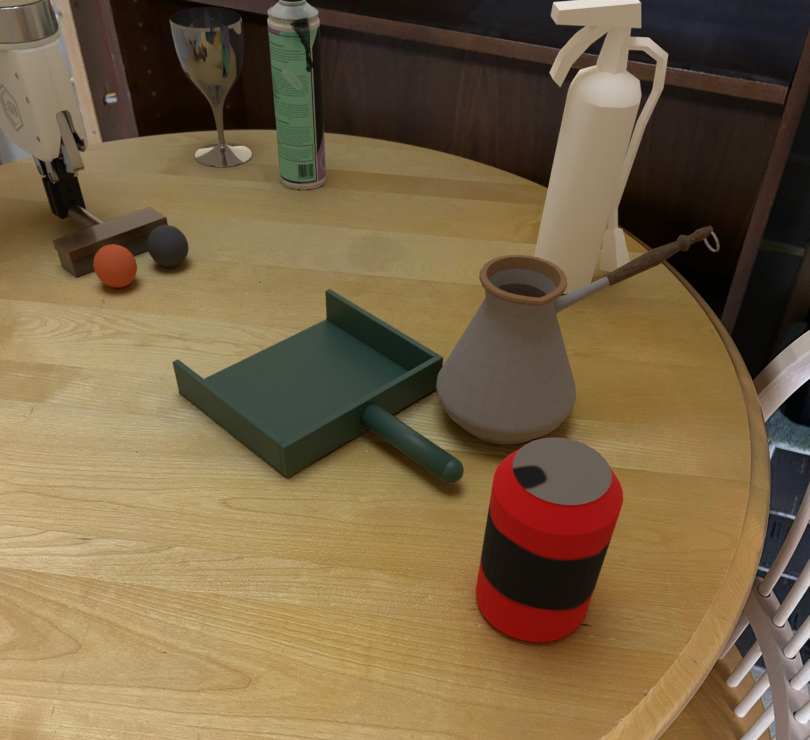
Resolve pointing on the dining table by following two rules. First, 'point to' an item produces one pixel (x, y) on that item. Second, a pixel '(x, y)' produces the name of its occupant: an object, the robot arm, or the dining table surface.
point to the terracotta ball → (115, 266)
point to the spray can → (297, 93)
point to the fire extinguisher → (595, 139)
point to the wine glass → (212, 69)
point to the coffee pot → (525, 346)
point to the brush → (104, 236)
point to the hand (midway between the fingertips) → (69, 212)
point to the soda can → (546, 538)
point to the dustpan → (325, 392)
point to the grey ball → (167, 246)
